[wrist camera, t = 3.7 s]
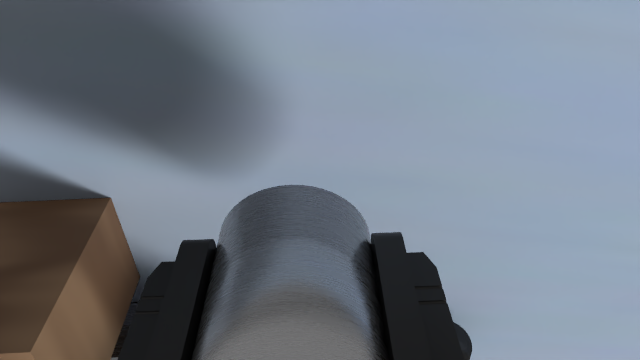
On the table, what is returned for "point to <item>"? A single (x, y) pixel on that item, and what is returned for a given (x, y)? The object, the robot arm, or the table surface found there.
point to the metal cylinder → (292, 282)
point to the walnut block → (63, 279)
